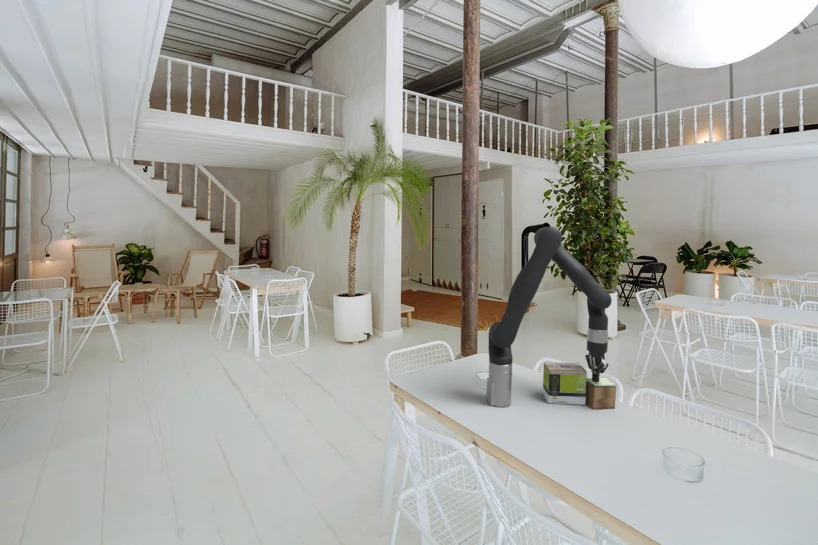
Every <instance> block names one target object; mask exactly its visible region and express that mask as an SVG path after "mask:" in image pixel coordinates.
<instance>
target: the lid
mask: <svg viewBox="0 0 818 545" xmlns="http://www.w3.org/2000/svg"><path fill="white" fill-rule="evenodd" d="M586 381H588V382H590V383H591V384H593V385H594V386H616V387H617V384H616V382H615V383H614V382H613V381H611V380H610V379H608V378H605V377H599V382H594V381H592V377H586Z"/></svg>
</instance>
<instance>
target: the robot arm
mask: <svg viewBox="0 0 818 545" xmlns="http://www.w3.org/2000/svg"><path fill="white" fill-rule="evenodd" d="M533 241H534V244H535V247H534V249H533V251H532V253H531V256H530V258H529V259H528V261H527V262H526V263H525V264H524V266H523V267H522V269H521V270H520V271H519V273H518V274H517V275H516V278H515V279H514V281H513V284H512V287H511V289H510V291H509V293H508V298H507V299H508V300H507V305H506V309H505V311H504V314H503V315H502V318H501V319H500V321H495V322H493V323H492V325H490V327H489V329H488V356H489V358H488V377H487V378H486V397H485V398H486V401H487V402H488V405H490V406H491V407H498V408H506V407H509V406H511V405H512V386H513V385H512V382H513V354H512V345H513V343H514V342H515V340H516V337H517V334H518V332H519V328H520V326H521V323H522V322H523V319H524V317H525V315H526V313H527V312H528V310H529V308H530V306H531V303H532V301H533V299H534V297H535V296H536V294H537V291H538V289H539V287H540V284H541V283H542V281H543V279H544V276H545V273H546V271H547V268H548V267H549V264H550V263H551V261H552V260H553V261H554V262H555V263H556V264H557V266H558V267H559V268H560V269H561V270H562V272H564V274H565V275H566V277H568V279H569V280H570V281H571V282H572V283H573V285H574V286H575V287H576V288H577V289H578V290H579V291H580V292H581V293H582V294H584V295H585V296H586V298H587V299H586V305H587V306H586V307H587V313H588V324H587V325H588V326H587V327H588V329H587V333H586V334H587V335H586V351H588V354H585V356H584V357H585V361H586V363H587V367H588V368H589V370H591V371H590V372H591V378H592V381H594V382H599V378H600V376H601V374H604V373H605V371H606V370H607V369H608V367H609V363H606V361H605V360H606V357H605V354H606V353H608V345H609V333H608V332H609V331H608V329H609V328H608V327H609V317H608V315H607V314H606V310H607V309H608V308H610V306H611V305H612V296H611V294H610V293H609V292H608V291H607V290H606V289H605V287H604V286H602V285H601V284H599V283H598V281H596V279H595V278H594V277H593V275H591V273H590V272H589V271H588V270H587V268H586V267H584V266H583V264H582V263H580V262H579V261H578V260H577V259H576V258H574V257H573V255H571V253H569V251H568V250H566V249H565V247H564V246H563V244H562V241H563V235H562V232H561V230H560V229H559V228H557V227H555V226H545V227H544V226H543V227H541V228H538V230H536V231H535V233H534V236H533Z"/></svg>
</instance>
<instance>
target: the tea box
mask: <svg viewBox="0 0 818 545" xmlns="http://www.w3.org/2000/svg"><path fill="white" fill-rule="evenodd" d="M587 372H588V371H587V370H586V369H585V367H584V366H582V365H581V364H580V363H579V362H545V361H544V362H543V376H542V378H543V379H542V381H543V382H542V394H543V397H544V398H545V400H546V402H547V403H548V404H556V405H581V406H585V405H587V404H586V381H587V380H586V378H587V374H588V373H587Z"/></svg>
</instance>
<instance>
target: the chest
mask: <svg viewBox="0 0 818 545" xmlns="http://www.w3.org/2000/svg"><path fill="white" fill-rule="evenodd" d="M616 394H617V385H616V386H594V385H593V384H591V383H590V382H588V381H587V380H586V404H585V405H587V406H588V407H589V408H591V409H592V410H610V409H611V410H612V409H613V410H614V409H616V398H617V397H616V396H617V395H616Z"/></svg>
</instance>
